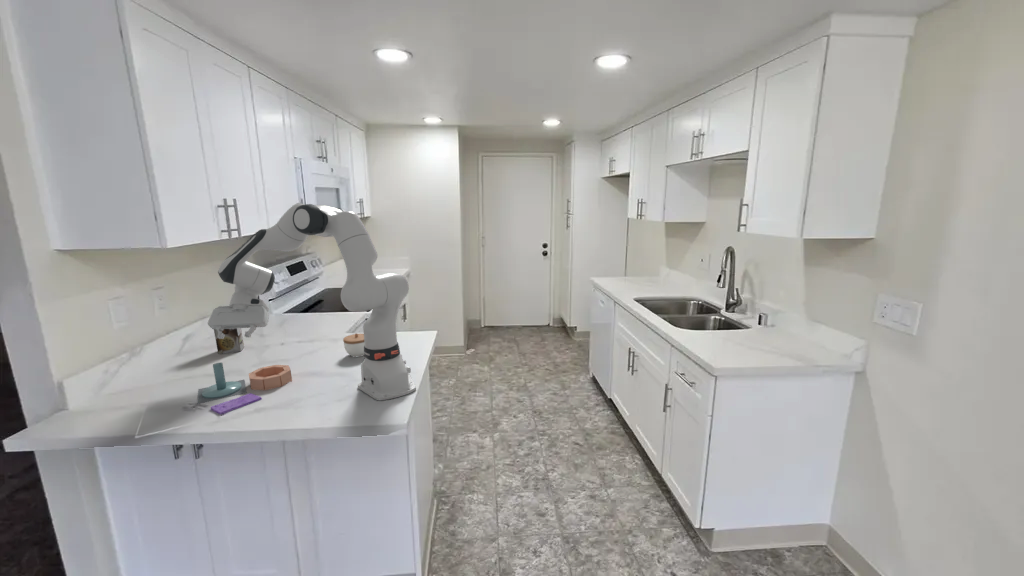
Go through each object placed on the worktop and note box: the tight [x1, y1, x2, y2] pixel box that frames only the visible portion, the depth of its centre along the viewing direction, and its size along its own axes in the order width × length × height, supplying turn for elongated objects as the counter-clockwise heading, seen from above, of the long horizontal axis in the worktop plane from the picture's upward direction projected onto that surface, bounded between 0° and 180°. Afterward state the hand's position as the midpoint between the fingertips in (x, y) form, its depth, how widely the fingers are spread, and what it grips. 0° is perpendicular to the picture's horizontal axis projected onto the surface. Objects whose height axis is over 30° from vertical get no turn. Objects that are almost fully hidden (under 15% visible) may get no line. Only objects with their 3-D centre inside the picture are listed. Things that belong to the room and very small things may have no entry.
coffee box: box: [213, 328, 245, 355], centre depth 193 cm, size 9×6×16 cm
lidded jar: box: [342, 333, 365, 358], centre depth 185 cm, size 11×11×9 cm
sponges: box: [210, 392, 262, 415], centre depth 142 cm, size 7×13×2 cm, turn 146°
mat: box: [196, 379, 248, 405], centre depth 152 cm, size 14×14×1 cm
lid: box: [202, 362, 242, 398], centre depth 151 cm, size 12×12×10 cm
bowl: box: [248, 364, 293, 391], centre depth 158 cm, size 13×13×4 cm
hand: (233, 337), depth 161 cm, fingers open, 8 cm apart
